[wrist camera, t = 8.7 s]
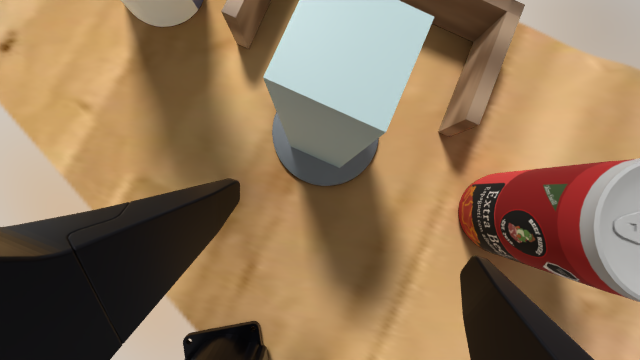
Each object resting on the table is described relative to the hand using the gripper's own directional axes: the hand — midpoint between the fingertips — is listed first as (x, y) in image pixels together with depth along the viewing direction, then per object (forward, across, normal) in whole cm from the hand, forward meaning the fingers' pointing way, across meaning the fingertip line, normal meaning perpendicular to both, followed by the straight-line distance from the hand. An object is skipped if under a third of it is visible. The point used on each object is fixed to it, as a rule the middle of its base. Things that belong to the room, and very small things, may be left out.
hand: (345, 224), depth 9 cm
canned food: (+16, -14, +6) cm, 21 cm away
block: (+14, +4, +2) cm, 14 cm away
